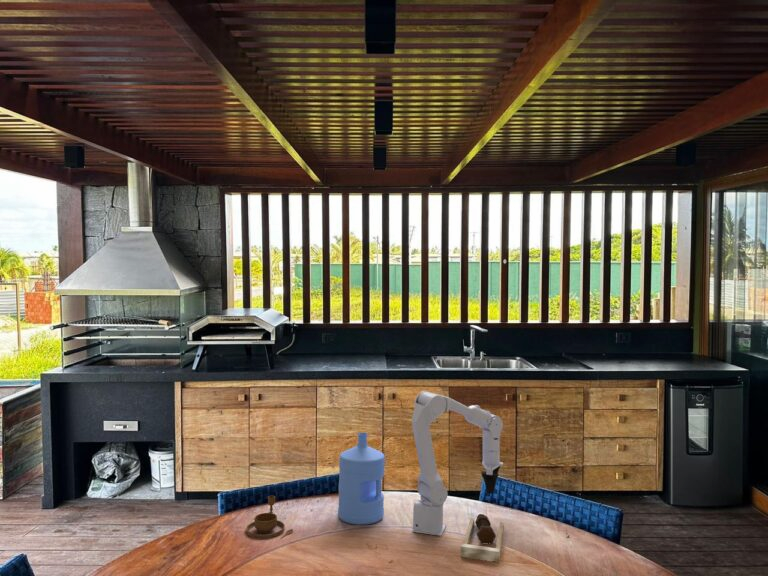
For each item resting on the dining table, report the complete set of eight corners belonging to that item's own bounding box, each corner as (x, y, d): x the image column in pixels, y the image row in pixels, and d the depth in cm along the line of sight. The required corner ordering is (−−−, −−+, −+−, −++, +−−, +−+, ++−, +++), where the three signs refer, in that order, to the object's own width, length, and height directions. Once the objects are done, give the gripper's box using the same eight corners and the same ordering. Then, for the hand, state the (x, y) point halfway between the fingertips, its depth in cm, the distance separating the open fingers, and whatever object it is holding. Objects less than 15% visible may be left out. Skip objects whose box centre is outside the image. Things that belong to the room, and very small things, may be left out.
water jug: (329, 520, 181) (331, 436, 181) (350, 504, 195) (352, 426, 196) (372, 529, 175) (374, 442, 175) (390, 512, 189) (392, 431, 190)
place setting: (230, 534, 170) (230, 515, 170) (268, 511, 189) (269, 494, 189) (276, 545, 163) (277, 525, 163) (312, 521, 181) (312, 503, 182)
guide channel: (460, 556, 157) (460, 546, 157) (470, 524, 180) (470, 515, 180) (498, 562, 154) (498, 551, 154) (503, 528, 177) (503, 519, 177)
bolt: (483, 529, 181) (488, 548, 166) (470, 521, 181) (474, 539, 166) (492, 514, 181) (498, 532, 166) (479, 506, 181) (484, 523, 166)
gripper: (501, 456, 177) (501, 498, 177) (504, 444, 191) (504, 483, 191) (479, 454, 179) (480, 495, 179) (484, 443, 193) (484, 481, 193)
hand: (491, 489), depth 185 cm, fingers open, 7 cm apart
